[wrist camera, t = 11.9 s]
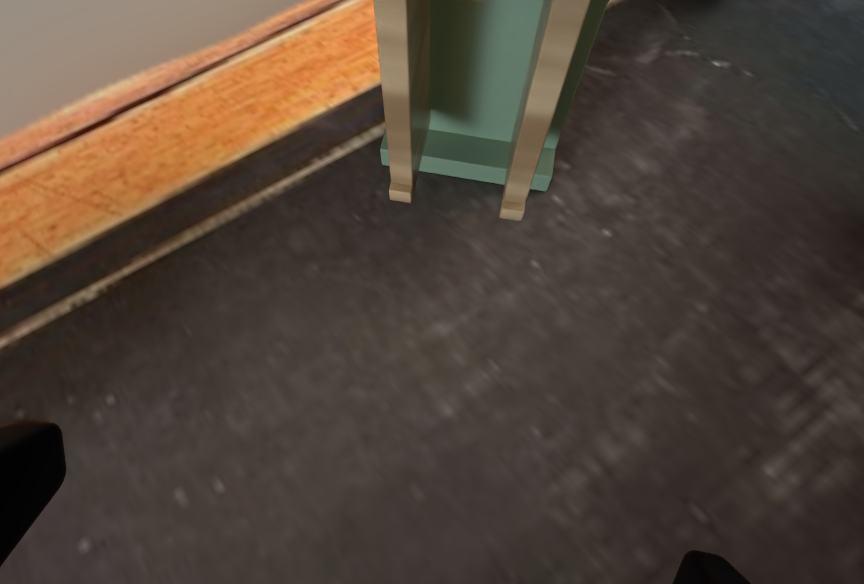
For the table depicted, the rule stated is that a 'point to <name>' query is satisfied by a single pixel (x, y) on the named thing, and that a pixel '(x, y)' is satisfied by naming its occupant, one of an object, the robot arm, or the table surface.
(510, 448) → the table surface
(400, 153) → the wooden side table
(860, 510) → the table surface
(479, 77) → the green bookend
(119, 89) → the table surface
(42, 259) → the table surface
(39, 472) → the robot arm
